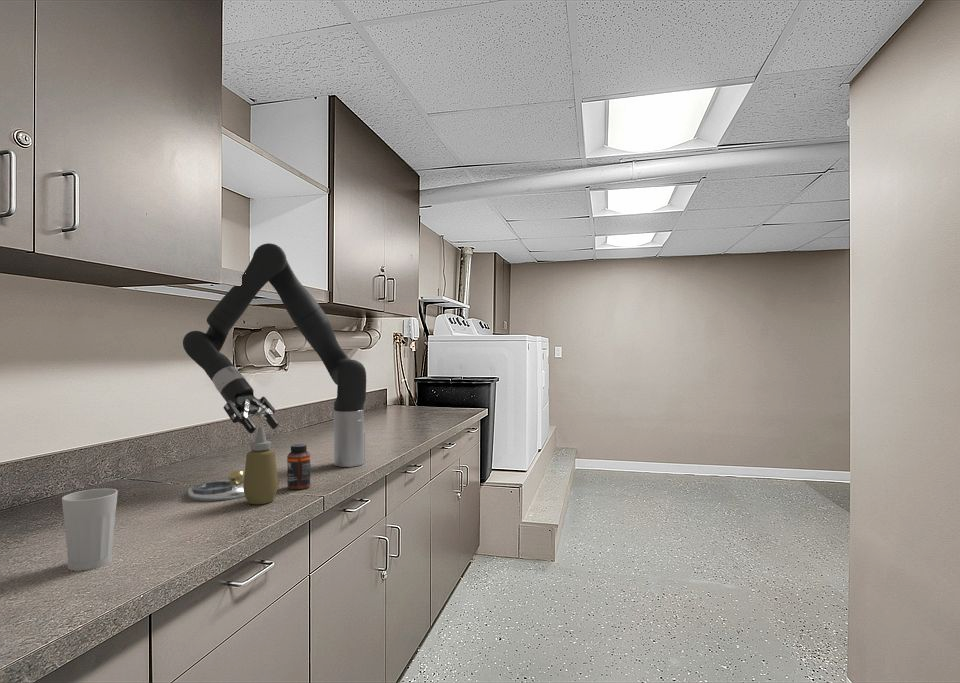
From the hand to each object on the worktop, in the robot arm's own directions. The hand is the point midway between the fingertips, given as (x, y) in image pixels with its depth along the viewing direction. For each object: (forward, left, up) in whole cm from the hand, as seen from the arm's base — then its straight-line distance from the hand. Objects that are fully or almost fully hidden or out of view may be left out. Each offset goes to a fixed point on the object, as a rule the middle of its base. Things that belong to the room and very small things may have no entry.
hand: (265, 429), depth 152 cm
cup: (+55, +11, -15) cm, 58 cm away
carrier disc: (+11, -4, -15) cm, 19 cm away
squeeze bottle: (+14, +12, -15) cm, 24 cm away
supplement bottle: (0, +11, -15) cm, 19 cm away
